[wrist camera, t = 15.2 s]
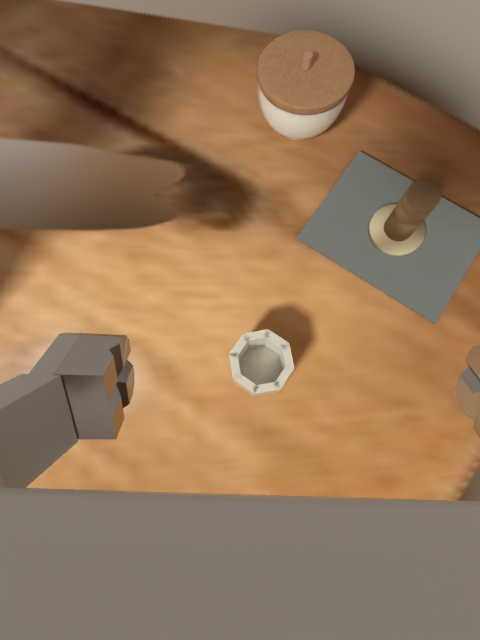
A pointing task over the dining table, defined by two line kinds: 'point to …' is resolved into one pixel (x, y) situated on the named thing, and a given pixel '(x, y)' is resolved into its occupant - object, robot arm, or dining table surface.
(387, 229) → the brown peg on disc
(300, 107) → the lidded jar
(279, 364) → the white octagonal base
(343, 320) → the dining table surface
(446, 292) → the mat
